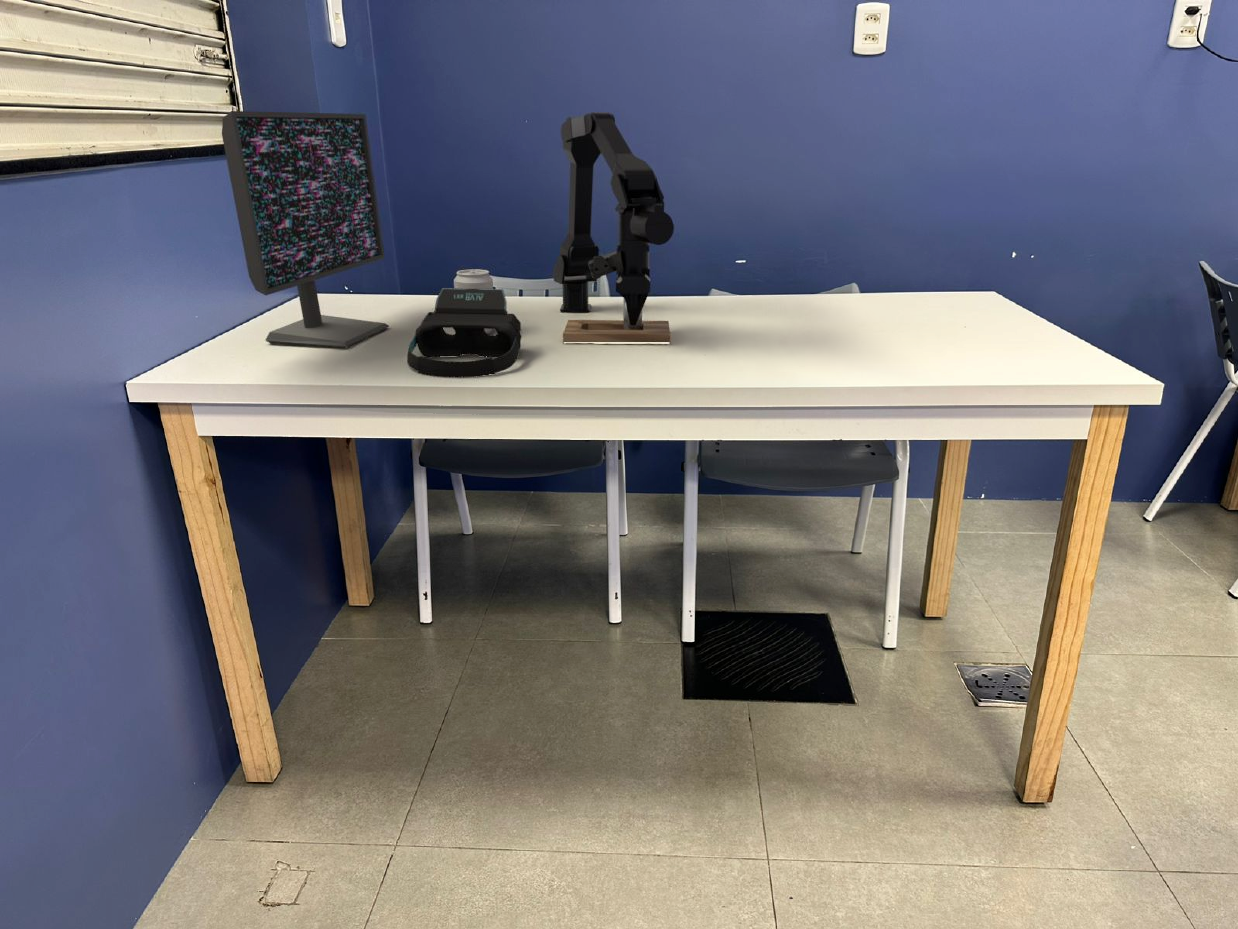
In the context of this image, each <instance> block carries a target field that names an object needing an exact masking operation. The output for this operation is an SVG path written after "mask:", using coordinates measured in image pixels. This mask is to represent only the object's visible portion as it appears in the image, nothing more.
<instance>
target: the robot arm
mask: <svg viewBox="0 0 1238 929" xmlns="http://www.w3.org/2000/svg"><path fill="white" fill-rule="evenodd" d="M565 120H566V121H565V122H563V123H562V124H561V126H560V137H561V140H562V149H563V151H564V153H565V155H566V156H567V157H566V158H567V159H568V160H569V162H570V164H569V166H570V167H569V169H570V170H569V171H570V172H569V196H568V197H569V200H568V202H569V203H568V231H567V234H566V236H565V238H564V239H563V241H562V243H561V244H560V246H559V247H560V248H559V255H558V257H557V259H556V263H555V264H554V267H553V270H552V277H553V278H552V279H553V282H555V283H558V284H560V285H562V304H561V306H560V308H559V312H561V313H563V312H566V313H569V312H570V313H571V312H572V313H577V312H578V313H579V312H580V313H588V312H589V313H590V311H591V308H592V304H590V303H589V283H590V282H592V283H595V282H597V281H598V279H600V278H602V277H603V276H606V275H609V274H611V273H615V272H616V275H617V277H616V280H615V293H617V294H619V295H620V296H621V297H622V298H623V300H624V299H625V302H626V307H627V312H628V317H629V322H630V325H636V323H637V321H638V318H639V316H640V313H641V311H642V312H643V308H644V306H645V304H646V301H647V299H648V296H649V294H650V293H651V277H650V276H651V275H650V270H651V268H650V244H652V245H655V246H661V245H664V244H666V243H668V242H669V241H670V239H672V237H673V235H674V231H675V230H674V229H675V224H674V221H673V219H672V217H671V216H670V215H669V214H668V213H666V212H665V201H664V199H665V196H664V194H663V191H662V190H661V187H660V184H659V182H658V181H659V180H658V178H657V176H656V173H655V171H654V170H653V169H652V168H651V166H650V165H649V164H648V163H647V162H646V161H645V160H643V159H641V158H639V157H637V156H635V154H634V153H633V151H632V150H631V148H630V146H629V145H628V143H627V141H626V140H625V138H624V137H623V134H622V133H621V131H620V129H619V127H618V126H617V124H616V120H615V116H614V114H612V113H611V112H608V111H607V112H606V111H602V112H601V111H600V112H599V111H597V112H596V111H591V112H589V113H586V114H585V115H582V116H581V115H580V116H576V117H575V116H570V117H569V116H568V117H567V118H566V119H565ZM600 155H602V156H603V159H604V161H605V162H606V164H607V166H608V167H609V170H610V172H611V174H612V175H611V178H610V181H609V183H610V186H611V189H612V190H611V191H612V193H613V195H614V196H615V198H616V201H617V202H618V204H617V205H616V206H615V207H614V208H615V212H618V244H617V245H616V250H615V251H613V252H609V253H606V254H602V253H601V254H600V248H599V246H598V245H596V243H595V241H594V239H593V238H592V217H593V216H592V215H593V213H592V212H593V211H592V210H593V195H594V194H593V193H594V190H593V189H594V167H595V164H596V162H597V160H598V159H599V157H600Z"/></svg>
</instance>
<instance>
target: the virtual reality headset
mask: <svg viewBox="0 0 1238 929" xmlns="http://www.w3.org/2000/svg"><path fill="white" fill-rule="evenodd" d="M434 306H435V307H434V311H432V312H431V311H429V312H428V313H427V314H426V316H424V318H423V320H422V321H421V323H420V325H419V326H418V327H417V328H416V330H415V334H414V336H413V338H412V340H411V341H410V343H409V345H408V348H407V356H406V359H407V365H408V367H410V368H411V369H412V370H414V371H416V372H417V374H420V375H423V376H428V375H429V377H436V376H437V377H439V378H474V377H475V378H477V377H484V376H483V375H487V376H490V375H489V374H495V375H496V373H500V372H503V371H505V370H507V369H509V368H511V367H513V365H514V364H515V363H516V362H517V360H518V357H519V353H520V349H521V347H522V343H521V341H522V334H521V332H522V327H521V324H522V322H521V321H520V320H519V318H518V317H517V316H516V315H515V314H514V313H508V311H507V298H506V295H505V291H504V289H502V288H498V289H497V288H495V289H494V288H493V289H464V288H454V287H453V288H452V287H451V288H450V287H441V289H440V290H439V294H438V295H437V297H436V300H435V305H434ZM445 328H446V329H448V328H449V329H453V331H454V334H451V333H448V332H446V331H445ZM484 328H485V329H493V330H495V332H496V334H494V335H491V334H487V333H486V332H485V330H484ZM415 348H418V350H419V353H420V354H421V356H418V355H416V354H414V353H413V351H414V349H415ZM462 354H465V355H475V354H477V357H479V356H484V357H483V359H477V360H476V359H474V360H463V361H462V360H461V361H453V360H441V359H434V358H441V357H440V356H459V357H461V355H462ZM462 356H463V355H462ZM486 356H487V357H486ZM429 357H432V358H429ZM492 357H497V358H492ZM476 376H477V377H476Z"/></svg>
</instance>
